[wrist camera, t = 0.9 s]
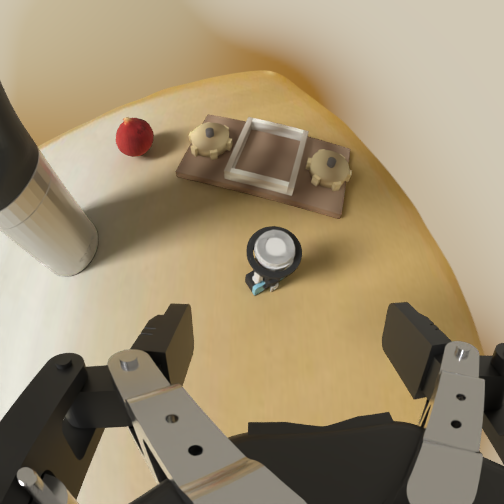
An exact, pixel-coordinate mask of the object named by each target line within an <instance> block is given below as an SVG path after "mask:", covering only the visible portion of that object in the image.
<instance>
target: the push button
mask: <svg viewBox="0 0 504 504" xmlns="http://www.w3.org/2000/svg"><path fill="white" fill-rule="evenodd" d="M253 250H254V252H255V258H254V256H253ZM301 258H302V248H301V245H300V243H299V241H298V239H297V238H296V236H295V235H294V234H292V233H291V232H290V231H288V230H286V229H284V228H281V227H275V226H272V227H265V228H262V229H260V230H258V231H257V232H256V233H254V234H253V235H252V237H251V238H250V240H249V242H248V245H247V259H248V261H249V264H250V265H251V267H252V268H253V271H252V272H250V273H248V274H247V275H246V278H245V282H246V283H247V285H248V286H249V288H250V290H251V291H252V293H253V294H254V296H255V295H257V294H259V293H260V292H262V291H263V290H265V289H267V288H269V287H270V288H271V289H270V292H272V291H273V290H275V289H276V288H278V285H279V283H278V282H279V281H280V280H282V279H283V278H285V277H287V276H288V275H290V274H291V273H293V272H294V271H295V270H296V269H297V267H298V266H299V264H300V261H301Z"/></svg>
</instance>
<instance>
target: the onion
mask: <svg viewBox="0 0 504 504" xmlns="http://www.w3.org/2000/svg"><path fill="white" fill-rule="evenodd" d="M123 120H124V122H123V123H122V124H121V125H120V127H119V128H118V130H117V133H116V144H117V146H118V148H119V150H120V151H121V152H122V153H124V154H125V155H128V156H132V157H134V156H140V155H143V154H144V153H146V152H147V151H148V150H149V148H150V147H151V145H152V143H153V137H154V135H153V131H152V129H151V127H150V125H149V124H148V123H147V122H146V121H144V120H142V119H138V118H129V117H126V118H124V119H123Z"/></svg>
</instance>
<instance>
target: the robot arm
mask: <svg viewBox="0 0 504 504" xmlns="http://www.w3.org/2000/svg"><path fill="white" fill-rule="evenodd" d="M0 230H1V231H2V232H3V233H4V234H5V235H6V236H8V237H9V238H10V239H11V240H12V241H14V242H15V243H16V244H17V245H19V246H20V247H21V248H22V249H24V250H25V251H26V252H27V253H29V254H30V255H31V256H32V257H34V258H35V259H36V260H38V261H39V262H40V263H41V264H43V265H44V266H45V267H47V268H48V269H49V270H51V271H52V272H54V273H55V274H57V275H59V276H72V275H75V274H77V273H79V272H80V271H82V270H83V269H84V268H85V267H86V266H87V265H88V264H89V263H90V262H91V260H92V258H93V257H94V255H95V252H96V250H97V245H98V234H97V230H96V228H95V226H94V225H93V223H92V222H91V221H90V219H89V218H88V217H87V216H86V214H85V213H84V211H83V210H82V209H81V208H80V206H79V205H78V204H77V202H76V201H75V200H74V198H73V197H72V195H71V194H70V193H69V191H68V190H67V189H66V187H65V186H64V184H63V183H62V182H61V180H60V179H59V177H58V176H57V175H56V173H55V172H54V170H53V169H52V167H51V166H50V164H49V163H48V162H47V160H46V159H45V157H44V156H43V154H42V153H41V151H40V150H39V148H38V147H37V145H36V144H35V142H34V141H33V139H32V138H31V136H30V135H29V133H28V132H27V130H26V129H25V128H24V126H23V125H22V123H21V121H20V119H19V118H18V116H17V114H16V113H15V111H14V109H13V107H12V105H11V104H10V101H9V99H8V97H7V95H6V93H5V91H4V88H3V87H2V84H1V82H0ZM382 347H383V350H384V352H385V354H386V355H387V357H388V358H389V360H390V362H391V363H392V365H393V366H394V368H395V369H396V371H397V373H398V374H399V376H400V378H401V379H402V381H403V382H404V384H405V386H406V387H407V389H408V391H409V392H410V394H411V396H412V397H413V399H419V398H424V397H427V400H426V402H425V405H424V407H423V410H422V413H421V416H420V419H419V422H418V425H414V424H411V423H406V422H398V421H393V419H392V417H391V415H390V413H389V412H386V413H380V414H373V415H366V416H358V417H355V418H352V419H348V420H345V421H342V422H339V423H335V424H332V425H329V426H323V427H322V426H311V425H303V424H295V423H288V422H248V433H242V434H238V435H234V436H231V437H228V438H227V437H226V436H225V435H224V434H223V433H222V431H221V430H220V429H219V428H218V427H217V426H216V425H215V424H214V423H213V422H212V421H211V419H210V418H209V417H208V416H207V415H206V414H205V413H204V412H203V410H202V409H201V408H200V407H199V406H198V405H197V403H196V402H195V401H194V400H193V399H192V398H191V396H190V395H189V394H188V393H187V392H186V390H185V389H184V388H183V387H182V386H183V383H184V380H185V377H186V374H187V370H188V367H189V364H190V361H191V358H192V355H193V350H194V337H193V326H192V314H191V307H190V304H170V306H169V307H168V309H167V311H166V312H165V314H164V315H157V316H155V317H154V318H152V319H151V320H149V321H148V323H147V324H146V326H145V328H144V329H143V330H142V332H141V334H140V335H139V336H138V338H137V339H136V341H135V343H134V344H133V346H132V347H131V349H130V350H123V351H120V352H117V353H115V354H114V355H112V356H111V357H110V358H109V360H108V365H106V366H92V367H86V366H85V363H84V360H83V358H82V357H81V356H80V355H78V354H74V353H64V354H59V355H57V356H54V357H53V358H51V359H50V360H49V361H48V362H47V363H46V364H45V365H44V366H43V368H42V369H41V370H40V371H39V373H38V374H37V375H36V376H35V377H34V379H33V380H32V381H31V382H30V384H29V385H28V386H27V387H26V389H25V390H24V391H23V392H22V394H21V395H20V396H19V398H18V399H17V400H16V401H15V403H14V404H13V405H12V407H11V408H10V409H9V411H8V412H7V413H6V415H5V416H4V417H3V419H2V420H1V421H0V504H79V503H78V502H77V501H76V499H77V497H78V494H79V491H80V489H81V486H82V483H83V481H84V478H85V476H86V473H87V471H88V468H89V466H90V463H91V461H92V458H93V456H94V453H95V451H96V448H97V446H98V443H99V441H100V439H101V436H102V434H103V432H104V429H105V428H109V427H126V426H127V428H128V430H129V432H130V434H131V436H132V438H133V440H134V442H135V444H136V445H137V447H138V449H139V451H140V453H141V455H142V456H143V458H144V460H145V462H146V464H147V465H148V467H149V469H150V471H151V473H152V475H153V477H154V479H155V481H156V483H157V486H155V487H154V488H152V489H151V490H149V491H148V492H146V493H145V494H143V495H142V496H140V497H138V498H137V499H135V500H134V501H132V502H131V503H129V504H504V466H502V465H500V464H498V463H495V462H493V461H491V460H489V459H487V458H484V457H483V455H482V453H481V452H480V451H479V448H480V440H481V432H482V429H483V430H484V432H485V434H486V435H487V437H488V438H489V440H490V442H491V443H492V445H493V447H494V448H495V450H496V452H497V453H498V455H499V457H500V458H501V460H502V462H503V464H504V343H501V344H498V345H497V346H496V348H495V351H494V353H493V356H479V351H478V350H477V349H476V348H475V347H474V346H473V345H471V344H469V343H466V342H461V341H453V342H452V341H451V340H450V339H449V338H448V337H447V336H446V335H445V334H444V333H443V332H442V331H441V330H439V328H438V327H437V326H436V325H434V323H433V322H432V321H431V320H430V319H429V318H428V317H426V316H424V315H422V314H420V313H418V312H417V311H416V310H415V309H414V308H413V307H412V306H411V305H410V304H409V303H408V302H402V303H391V304H390V305H389V307H388V310H387V315H386V321H385V326H384V331H383V336H382ZM64 417H65V418H64ZM63 419H64V420H63Z"/></svg>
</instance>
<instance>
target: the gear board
mask: <svg viewBox="0 0 504 504" xmlns="http://www.w3.org/2000/svg"><path fill="white" fill-rule="evenodd" d="M307 135H308V131H305V130H301V129H298V128H294V127H290V126H286V125H282V124H278V123H273V122H269V121H265V120H260V119H255V118H251V117H248V119H247V121H246V122H245V121H240V120H235V119H230V118H225V117H219V116H214V115H207V117H206V118H205V120H204V122H203V123H202V125H200V126H198V127H196V128H195V129H194V130H193V131H191V132H190V134H189V141H190V143H191V144H190V146H189V148H188V150H187V152H186V153H185V155H184V157H183V159H182V161H181V163H180V165H179V166H178V168H177V170H176V175H177V177H180V178H185V179H189V180H193V181H198V182H202V183H206V184H210V185H215V186H219V187H223V188H227V189H231V190H235V191H239V192H243V193H247V194H251V195H255V196H259V197H262V198H266V199H270V200H274V201H277V202H281V203H285V204H288V205H292V206H296V207H299V208H303V209H306V210H310V211H313V212H317V213H320V214H324V215H327V216H331V217H334V218H337V219H339V218H340V216H341V214H342V208H343V201H344V194H345V187H346V181H347V182H348V181H349V179H350V177H351V174H352V170H349V165H348V164H349V155H350V149H349V148H345V147H342V146H339V145H336V144H332V143H329V142H325V141H322V140H319V139H315V138H311V137H308V136H307Z"/></svg>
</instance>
